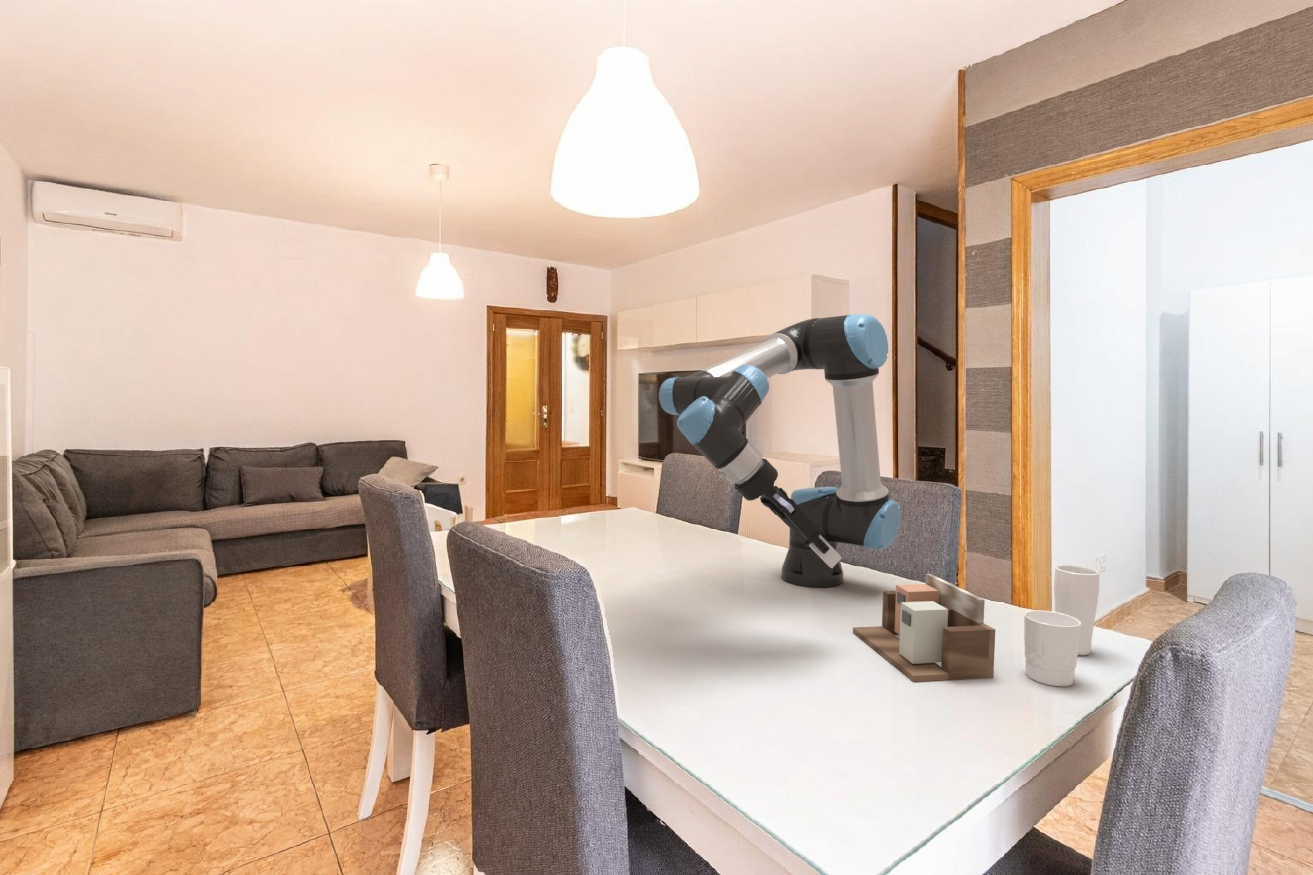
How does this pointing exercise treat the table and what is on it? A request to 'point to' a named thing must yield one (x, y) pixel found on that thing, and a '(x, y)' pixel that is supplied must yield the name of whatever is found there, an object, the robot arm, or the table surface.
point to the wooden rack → (962, 639)
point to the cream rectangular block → (922, 631)
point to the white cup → (1051, 647)
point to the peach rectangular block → (913, 598)
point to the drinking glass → (1078, 599)
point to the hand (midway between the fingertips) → (835, 561)
